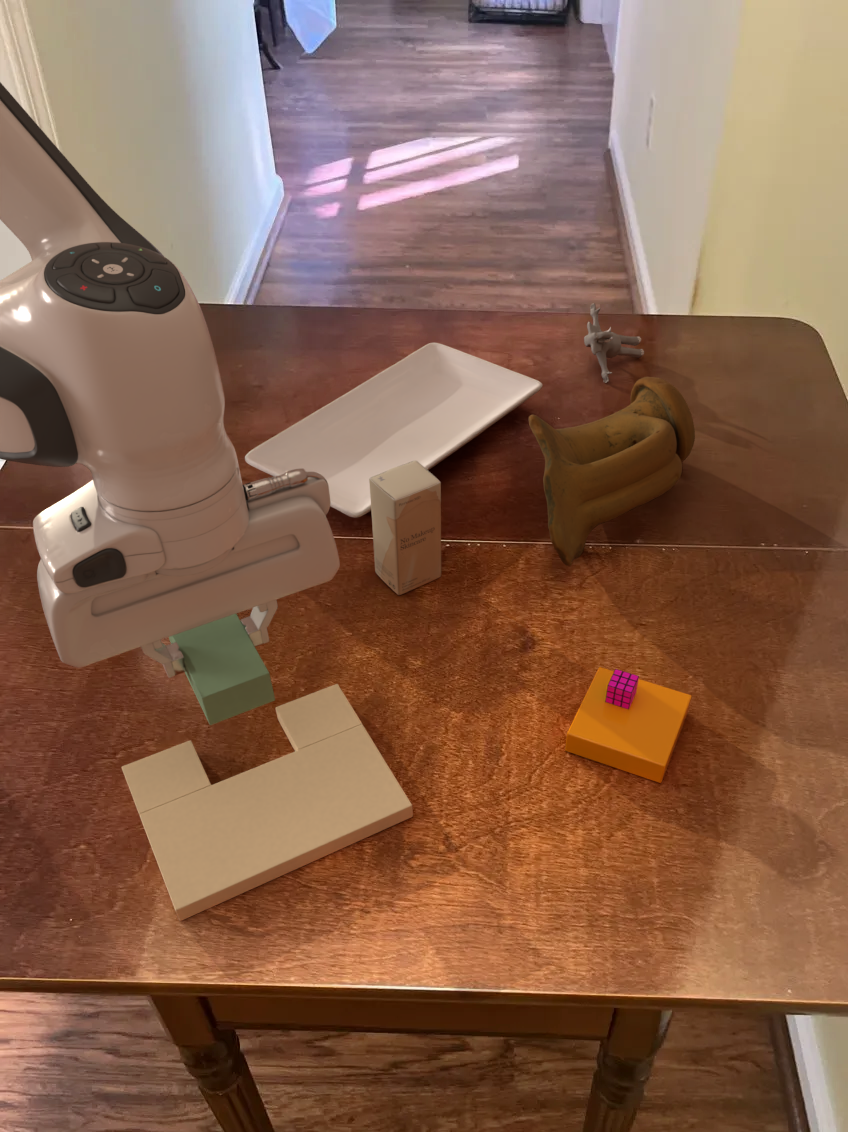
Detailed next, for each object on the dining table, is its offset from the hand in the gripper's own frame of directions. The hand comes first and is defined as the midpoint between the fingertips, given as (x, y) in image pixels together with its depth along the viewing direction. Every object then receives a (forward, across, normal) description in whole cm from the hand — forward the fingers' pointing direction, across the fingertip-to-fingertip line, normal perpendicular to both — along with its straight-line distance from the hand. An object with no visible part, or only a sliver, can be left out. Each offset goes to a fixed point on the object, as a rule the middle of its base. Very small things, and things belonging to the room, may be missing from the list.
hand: (216, 654), depth 73 cm
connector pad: (+2, 0, 0) cm, 2 cm away
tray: (+9, -30, -31) cm, 44 cm away
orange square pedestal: (+9, -28, +15) cm, 33 cm away
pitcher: (+9, -43, -11) cm, 45 cm away
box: (+9, -21, -11) cm, 25 cm away
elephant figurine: (+9, -60, -35) cm, 70 cm away
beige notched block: (+9, 0, +7) cm, 12 cm away
